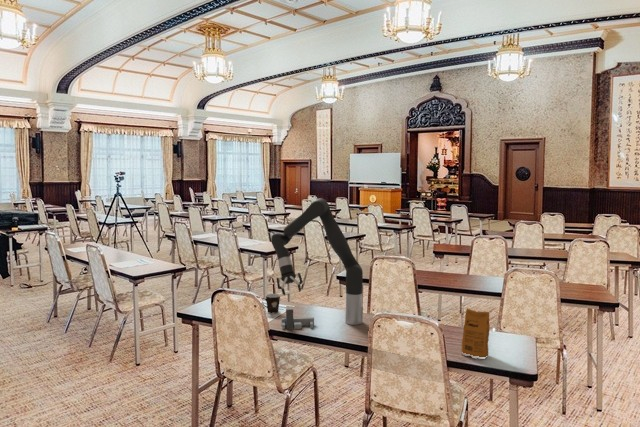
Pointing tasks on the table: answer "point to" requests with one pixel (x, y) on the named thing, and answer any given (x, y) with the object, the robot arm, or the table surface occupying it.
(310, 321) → the duct
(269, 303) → the coffee mug
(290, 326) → the plug
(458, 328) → the table surface
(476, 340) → the coffee package
